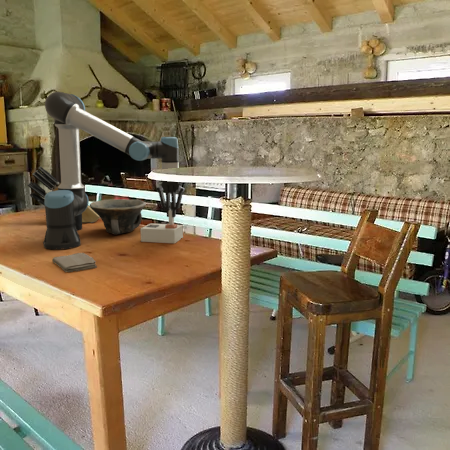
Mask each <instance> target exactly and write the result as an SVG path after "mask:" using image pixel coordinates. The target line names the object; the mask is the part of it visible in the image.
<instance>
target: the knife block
mask: <svg viewBox="0 0 450 450" xmlns="http://www.w3.org/2000/svg"><path fill="white" fill-rule="evenodd" d="M32 176H33V177H34V178H35V179H36V180H37V181H39V182H40V184H42V185H43V186H45V187H46V188H47V189H48V190H49V191H50V192H51V191H56V190H58V186H59V185H60V184H61V181H59V180H57V179H56V177H54V175H52V174H51V173H50V172H48V171H47V170H46V169H45V168H43V167H42V166H39V167H38V168H37V170H35V171H34V172H33V173H32ZM27 187H29V189H31V190H32V191H33V192H31V193H29V197H30V198H33V199H34V200H35V201H36V202H38V203H39V204H41V205H43V206H44V207H45V204H44V201H45V195H46V194H47V193H48V192H46V190H45V189H43V188H42V187H41V186H40V185H39V184H37V183H36V182H32V181H30V182H29V183H27ZM99 219H100V216H99V215H98V214H96V213H95V212H94V211H93V210H92V209H91V208H90V204H88V207H87V209H86V210H85V211H84V212H83V213H82V223H92V224H93V223H95V222H97V221H98V220H99Z"/></svg>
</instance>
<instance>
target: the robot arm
mask: <svg viewBox="0 0 450 450" xmlns="http://www.w3.org/2000/svg"><path fill="white" fill-rule="evenodd" d="M44 108H45V111H46V113H47V115H48V116H49V117H50V118H52V119H54V126H55V127H56V128H57V129H58V144H59V146H58V147H59V163H60V164H59V167H60V182H61V184H60V185H59V186H58V190H56V191H51V190H50V192H46V193H47V194H46V195H45V198H44V199H45V201H44V204H45V206H44V210H45V220H46V221H45V222H46V231H45V234H44V239H43V248H44V249H47V250H67V249H73V248H78V247H79V246H81V245H82V241H81V238H80V234H79V232H78V231H77V230H76V227H75V216H77V215H80V214H82V213H83V212H84V211H85V210H86V209H87V207H88V205H89V201H90V200H89V197H88V195H87V193H86V191H85V190H86V186H85V185H84V184H83V183H82V170H81V169H82V168H81V147H80V145H81V144H80V130H82V131H84V132H85V133H87V134H89V135H91V136H92V137H94V138H96V139H99V140H100V141H102V142H104V143H106V144H108V145H110V146H112V147H114V148H116V149H118V150H119V151H121V152H123V153H124V154H127V155H128V156H130V157H131V159H133V160H135V161H139V162H141V161H145V160H147V159H151V160H152V159H153V160H154V159H161V170H162V169H168V168H179V165H180V164H179V160H180V159H179V148H180V147H179V140H178V137H176V136H161V137H160V141H159V140H158V141H154V140H153V141H152V140H151V141H148V140H147V141H145V140H144V141H143V140H140V139H139V138H137V137H135V136H133V135H132V134H129V133H127V132H125V131H123V130H122V129H119V128H117V127H116V126H114V125H113V124H110V123H109V122H107V121H105V120H103V119H101V118H99V117H98V116H95V115H94V114H92V113H90V112H88V111H86V106H85V104H84V102H83V100H82V99H81V98H80V97H78V96H77V95H75V94H72V93H68V92H63V91H54V92H51V93H50V94H48V96H47V97H46V99H45V102H44ZM179 169H180V168H179ZM185 190H186V188H185V187H182V186H181V184H180V181H179V182H167V181H162V180H161V183H160V185H159V186H158V187H156V191H157V192H158V195H159V200H160V203H161V207H162V209H163V210H166V217H167V218H168V224H169V225H172V224H175V217H176V215H177V214H176V213H177V210H178V209H180V207H181V203H182V199H183V194H184V192H185ZM177 191H178V194H177ZM164 192H165V195H164ZM176 195H177V198H176Z"/></svg>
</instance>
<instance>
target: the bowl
mask: <svg viewBox="0 0 450 450" xmlns="http://www.w3.org/2000/svg"><path fill="white" fill-rule="evenodd" d="M89 206H90V208H91V209H92V210H93V211H94V212H95V213H96V214H98V215H99V219H101V220H102V222H103V225H104V228H105V232H107V233H109V234H112V235H122V234H125V233H126V234H127V233H131V232H132V231H134V230H135V229H137V228H139V227H140V225H141V223H142V219H143V215H142V211H143V209H144V208H145V207H146V206H147V204H146V201H143V200H141V199H127V198H126V199H123V198H121V199H119V198H118V199H104V200H96V201H93V202H91V203H90V204H89Z"/></svg>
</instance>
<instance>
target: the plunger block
mask: <svg viewBox="0 0 450 450" xmlns="http://www.w3.org/2000/svg"><path fill="white" fill-rule="evenodd" d="M150 224H152V225H159V226H158V227H156V228H154V227H147V226H148V225H150ZM167 224H168V223H148V224H147V225H144V226H143V227H141V228H140V242H142V243H163V244H176V243H177V242H179V241H180V240H182V239H183V238H184V225H183V224H177V228H175V229H174V228H165V225H167ZM181 238H182V239H181Z"/></svg>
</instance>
